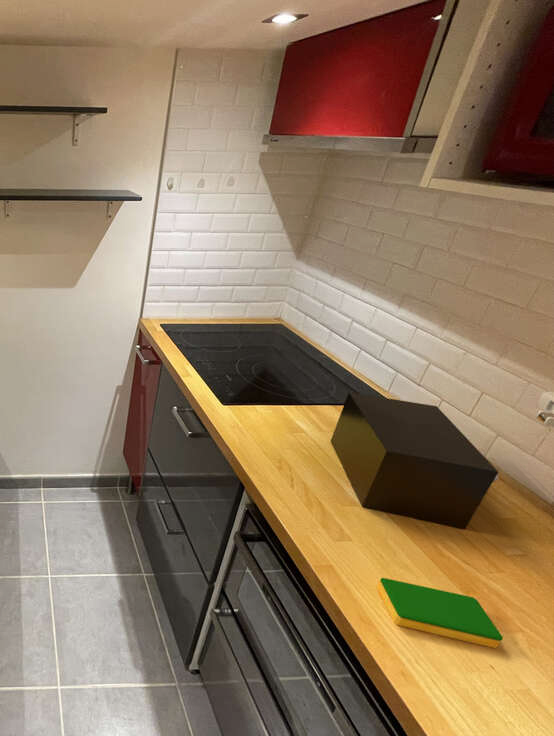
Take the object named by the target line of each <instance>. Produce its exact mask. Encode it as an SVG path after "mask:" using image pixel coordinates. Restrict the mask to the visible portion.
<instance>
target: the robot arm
mask: <svg viewBox="0 0 554 736" xmlns="http://www.w3.org/2000/svg"><path fill="white" fill-rule="evenodd" d="M536 406H537V407H538V408H539V409H541V410H538V411H537V413H536V415H535V418H536V419H538V420H539V421H540V422H542V423H543V424H544V425H545V426H546V427H552V428H554V391H544V392H542V393H541V395H540V397H539V398H538V400H537V402H536Z"/></svg>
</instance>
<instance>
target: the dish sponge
mask: <svg viewBox="0 0 554 736" xmlns="http://www.w3.org/2000/svg"><path fill="white" fill-rule="evenodd" d="M376 589H377V591H378V593H379V595H380V598H381V599H382V601H383V603H384V605H385V608H386V609H387V612H388V613H389V615H390V617H391V619H392V621H393V623H394V624H396V625H397V626H400V627H405V628H410V629H413V630H417V631H422V632H425V633H429V634H433V635H438V636H442V637H447V638H452V639H456V640H459V641H464V642H468V643H472V644H475V645H476V644H477V645H480V646H485V647H489V648H492V649H493V648H494V649H496V648H497V647H498V646H499V644H500V643H501V642H502V640H503V639H504V637H503V635H502V634H501V633H500V631H499V629H498V627H496V625H495V624H494V622H493V621H492V619H491V618H490V616H489V615H488V614H487V613H486V611H485V609H484V608H483V607H482V605H481V603H480V602H479V601H478V599H477V598H475V597H473V596H469V595H464V594H460V593H455V592H450V591H446V590H442V589H436V588H432V587H428V586H423V585H419V584H413V583H409V582H404V581H401V580H397V579H390V578H386V577H381V578H380V580H379V581H378V583H377V586H376Z"/></svg>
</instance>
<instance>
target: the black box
mask: <svg viewBox="0 0 554 736" xmlns="http://www.w3.org/2000/svg"><path fill="white" fill-rule="evenodd" d="M330 443H331V445H332V448H333V450H334V452H335V454H336V456H337V459H338V460H339V462H340V465H341V466H342V468H343V471H344V473H345V474H346V477H347V478H348V481H349V484H350V485H351V487H352V489H353V491H354V493H355V495H356V497H357V500H358V502H359V504H360V506H361V507H362V508H365V509H369V510H374V511H378V512H384V513H387V514H392V515H395V516H401V517H405V518H410V519H415V520H419V521H423V522H428V523H433V524H436V525H437V524H438V525H440V526H441V525H442V526H446V527H451V528H455V529H459V530H463V531H464V530H466V528H467V527H468V525H469V524H470V521H472V518H473V517H474V515H475V513H476V511H477V510H478V508H479V506H480V504H481V503H482V501H483V500H484V498H485V496H486V494H487V493H488V491H489V489H490V488H491V486H492V485H493V483H497V481H498V480H499V471H498V469H497V468H495V466H494V465H493V464H492V463H491V462H490V461H489V460H488V459H487V457H485V456H484V455H483V454H482V453H481V451H479V449H478V448H477V447H476V446H475V445H474V444H473V443H472V442H471V441H470V440H469V439H468V438H467V437H466V436H465V434H463V432H462V431H461V430H460V429H459V428H458V427H457V426H456V424H454V423H453V422H452V421H451V419H449V418H448V416H447V415H446V414H445V413H444V412H443V411H442V410H441V409H440V408H439V407H438V406H437V405H432V404H425V403H419V402H413V401H408V400H401V399H395V398H388V397H382V396H375V395H368V394H364V393H363V394H362V393H357V392H350V391H349V392H348V393H347V395H346V399H345V402H344V404H343V407H342V410H341V412H340V414H339V417H338V420H337V423H336V425H335V427H334V431H333V434H332V436H331V439H330Z"/></svg>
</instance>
